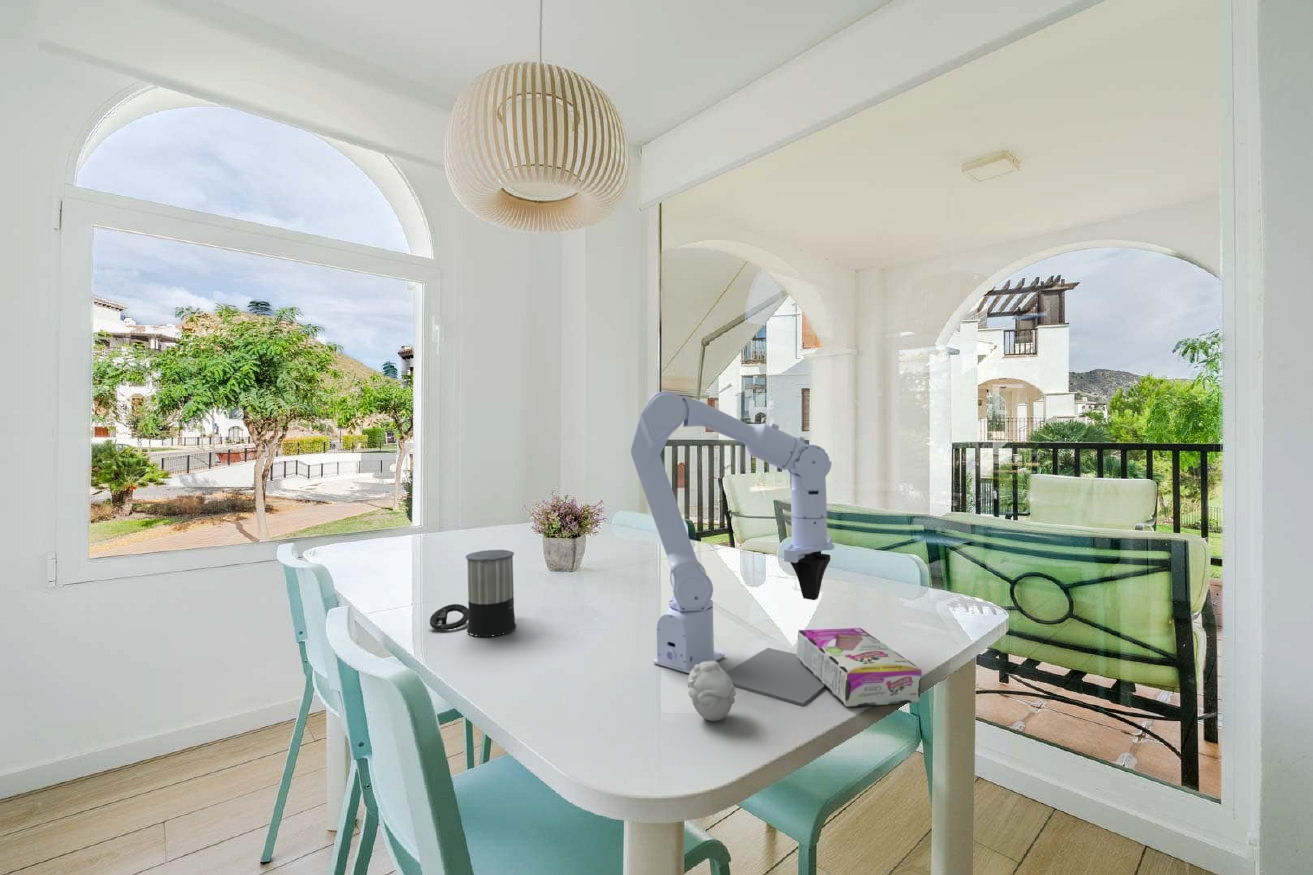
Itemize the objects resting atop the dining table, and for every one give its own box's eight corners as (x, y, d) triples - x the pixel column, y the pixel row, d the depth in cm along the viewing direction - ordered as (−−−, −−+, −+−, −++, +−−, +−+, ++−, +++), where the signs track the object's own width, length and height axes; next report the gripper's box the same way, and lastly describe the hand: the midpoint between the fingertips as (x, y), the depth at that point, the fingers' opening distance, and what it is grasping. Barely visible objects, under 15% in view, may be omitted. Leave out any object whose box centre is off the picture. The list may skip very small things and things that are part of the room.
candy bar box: (860, 625, 96) (924, 668, 80) (859, 655, 96) (922, 705, 80) (796, 627, 94) (848, 672, 78) (794, 658, 94) (846, 709, 78)
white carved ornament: (716, 702, 81) (715, 651, 81) (747, 723, 75) (746, 668, 75) (678, 712, 79) (677, 660, 79) (707, 735, 72) (706, 678, 72)
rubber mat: (803, 706, 80) (803, 703, 80) (716, 680, 88) (715, 678, 88) (848, 668, 92) (848, 666, 92) (767, 649, 101) (767, 647, 101)
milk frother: (519, 634, 112) (517, 555, 112) (430, 646, 106) (428, 563, 106) (509, 613, 125) (508, 544, 125) (429, 623, 120) (428, 550, 120)
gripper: (813, 523, 90) (814, 613, 90) (849, 513, 101) (850, 592, 101) (771, 520, 94) (773, 605, 94) (810, 510, 106) (811, 586, 106)
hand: (810, 598), depth 98 cm, fingers closed
